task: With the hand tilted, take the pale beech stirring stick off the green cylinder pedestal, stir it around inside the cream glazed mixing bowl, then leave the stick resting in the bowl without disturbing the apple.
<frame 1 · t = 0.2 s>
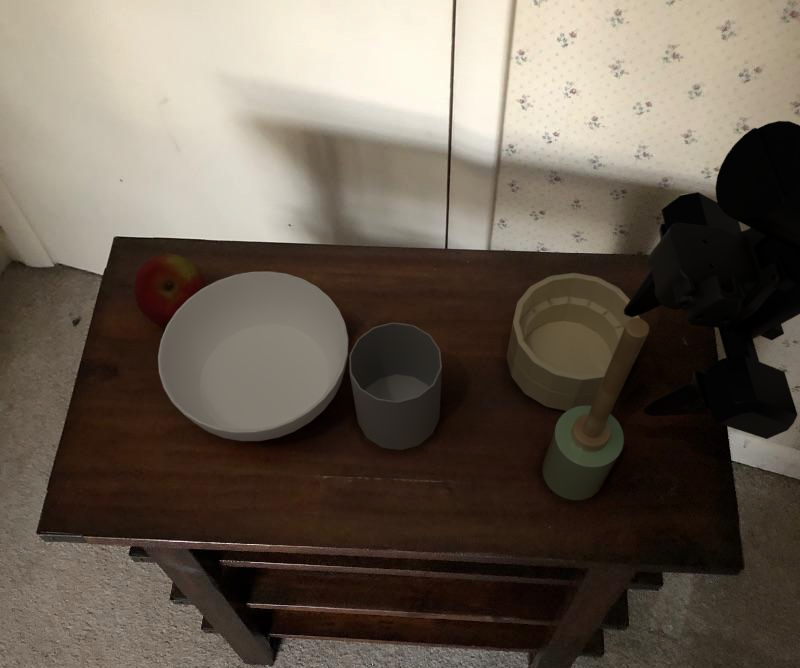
hand: (636, 361, 61), 16 cm above the table, tool tilted 35°, fingers open, 9 cm apart
mixing bowl: (565, 361, 80), on the table
stirring stick: (589, 435, 67), point 8 cm above the table, touching green cylinder pedestal
apple: (182, 314, 84), on the table
green cylinder pedestal: (573, 471, 74), on the table
cup: (398, 413, 78), on the table
bowl: (266, 385, 80), on the table
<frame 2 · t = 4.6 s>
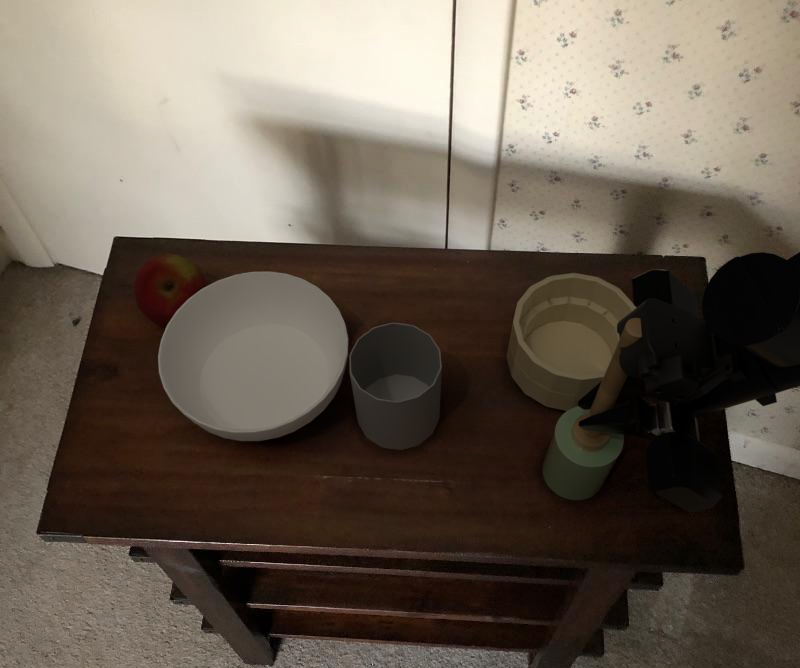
hand: (580, 415, 64), 12 cm above the table, tool tilted 45°, fingers closed on stirring stick
stirring stick: (589, 435, 67), point 8 cm above the table, touching gripper, green cylinder pedestal
everything else where it was.
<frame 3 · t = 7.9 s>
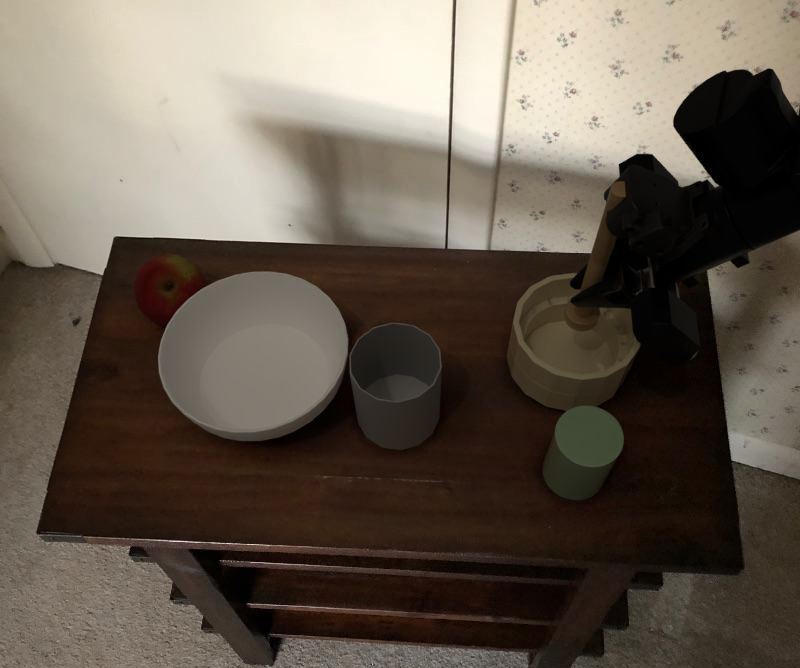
hand: (572, 294, 69), 12 cm above the table, tool tilted 45°, fingers closed on stirring stick
stirring stick: (580, 317, 72), point 8 cm above the table, touching gripper
everything else where it was.
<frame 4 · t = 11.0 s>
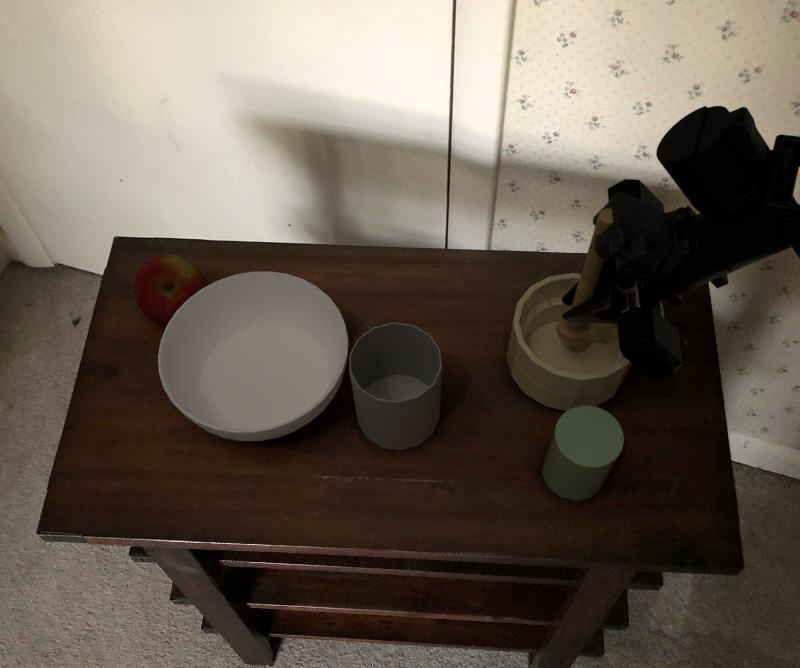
hand: (564, 310, 74), 8 cm above the table, tool tilted 45°, fingers closed on stirring stick
stirring stick: (572, 331, 77), point 4 cm above the table, touching gripper
everything else where it was.
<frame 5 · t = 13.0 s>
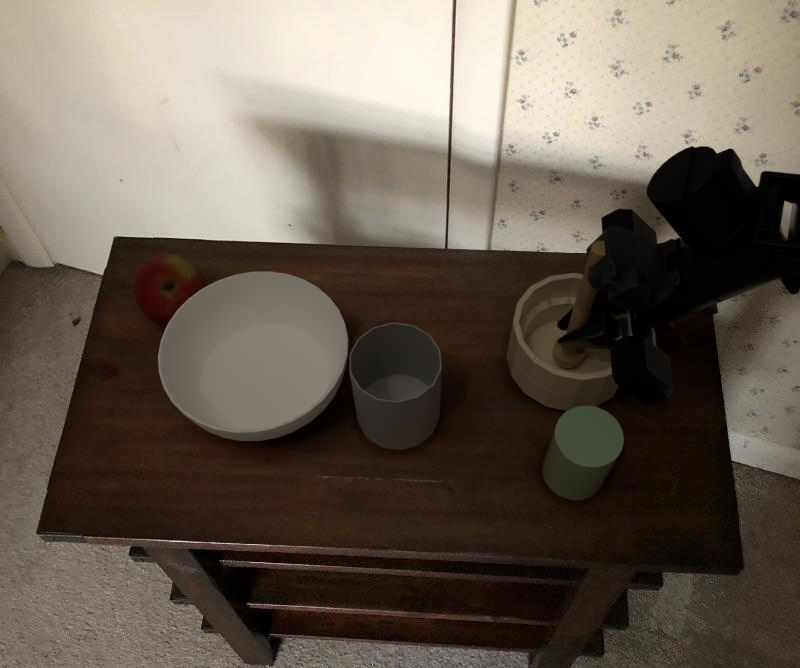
hand: (559, 335, 76), 5 cm above the table, tool tilted 45°, fingers closed on stirring stick
stirring stick: (567, 355, 79), point 1 cm above the table, touching gripper
everything else where it was.
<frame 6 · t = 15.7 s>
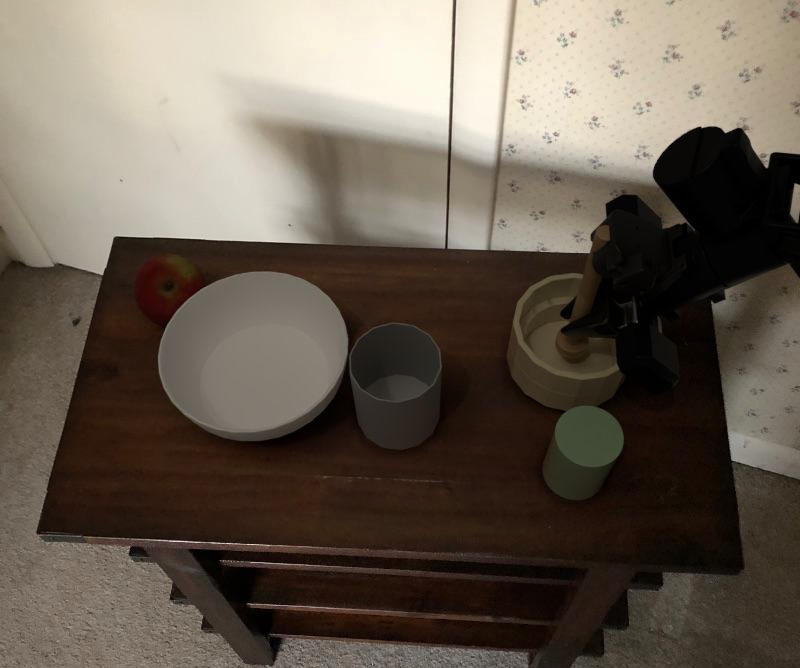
hand: (562, 324, 74), 7 cm above the table, tool tilted 45°, fingers closed on stirring stick
stirring stick: (570, 345, 77), point 3 cm above the table, touching gripper
everything else where it was.
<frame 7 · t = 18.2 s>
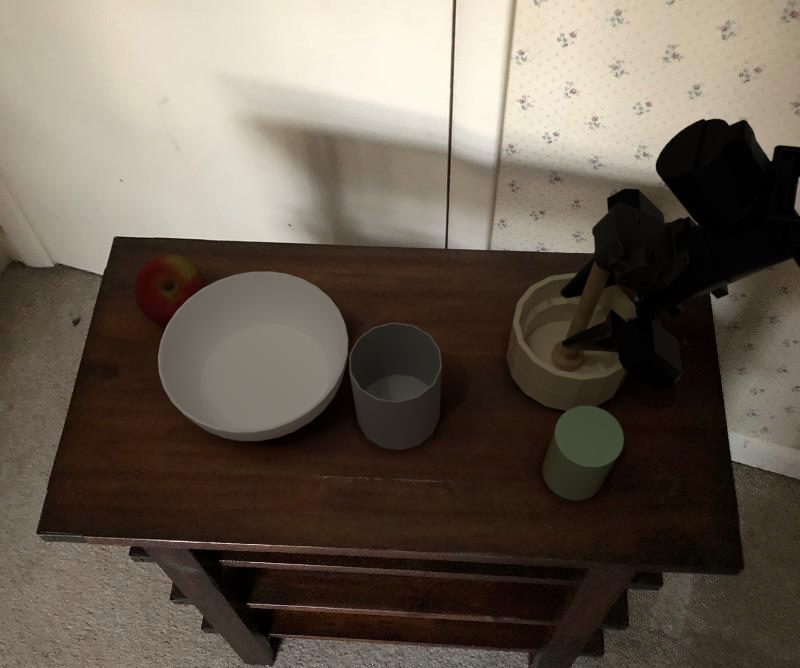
hand: (563, 320, 73), 8 cm above the table, tool tilted 45°, fingers open, 5 cm apart
stirring stick: (566, 358, 79), point 1 cm above the table, touching mixing bowl
everything else where it was.
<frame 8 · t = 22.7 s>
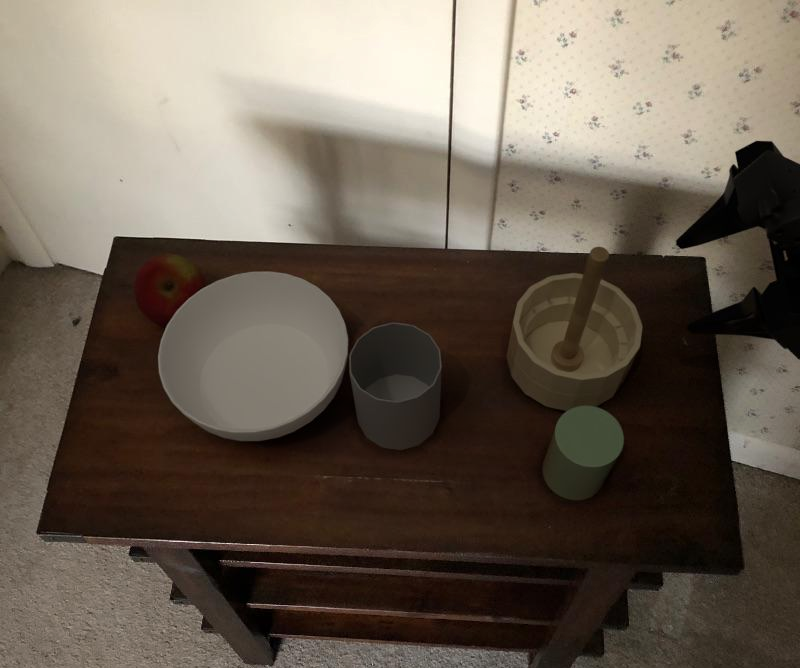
hand: (683, 285, 68), 14 cm above the table, tool tilted 45°, fingers open, 9 cm apart
nothing on the table moved.
at the end: stirring stick inside the target area in the mixing bowl (0.1 cm from its centre), point 0.6 cm above the mixing bowl's base; the gripper is holding nothing; apple moved 0.2 cm from its start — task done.
